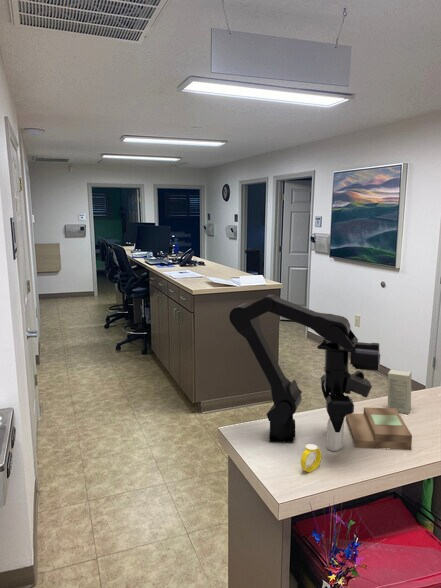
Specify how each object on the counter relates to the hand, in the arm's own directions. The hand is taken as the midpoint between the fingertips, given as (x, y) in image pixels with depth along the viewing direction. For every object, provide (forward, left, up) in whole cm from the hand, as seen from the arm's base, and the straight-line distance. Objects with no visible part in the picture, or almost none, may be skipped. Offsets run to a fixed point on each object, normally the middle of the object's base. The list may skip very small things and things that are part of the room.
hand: (335, 423), depth 113 cm
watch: (-7, -11, -7) cm, 15 cm away
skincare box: (+22, +24, -7) cm, 33 cm away
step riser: (+12, +8, -7) cm, 16 cm away
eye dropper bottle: (0, 0, -7) cm, 7 cm away
